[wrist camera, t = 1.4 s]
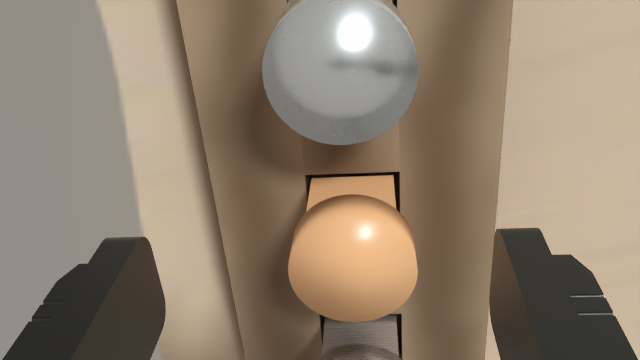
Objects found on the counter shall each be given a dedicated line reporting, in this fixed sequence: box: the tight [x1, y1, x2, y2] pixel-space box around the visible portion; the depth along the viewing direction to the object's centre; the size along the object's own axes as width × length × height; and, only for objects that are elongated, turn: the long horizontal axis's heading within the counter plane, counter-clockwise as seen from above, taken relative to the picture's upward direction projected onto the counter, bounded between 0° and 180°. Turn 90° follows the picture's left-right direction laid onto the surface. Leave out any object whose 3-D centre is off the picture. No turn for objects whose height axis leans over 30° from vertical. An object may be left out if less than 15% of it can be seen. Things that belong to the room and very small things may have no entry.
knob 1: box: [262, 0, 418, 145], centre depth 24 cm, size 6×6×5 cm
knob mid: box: [288, 175, 418, 322], centre depth 28 cm, size 6×6×5 cm
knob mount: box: [176, 0, 513, 360], centre depth 32 cm, size 14×28×4 cm, turn 4°
